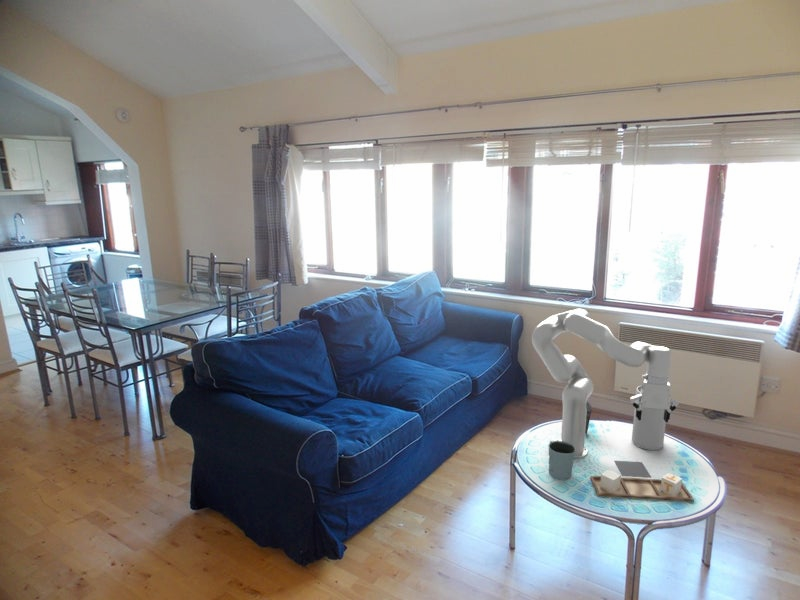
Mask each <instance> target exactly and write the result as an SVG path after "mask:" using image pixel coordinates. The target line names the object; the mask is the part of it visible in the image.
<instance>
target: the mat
mask: <svg viewBox="0 0 800 600" xmlns="http://www.w3.org/2000/svg"><path fill="white" fill-rule="evenodd" d="M613 462H614V463H615V466H616V468H617V470H618V471H619V473H620V475H621V477H631V478H649V479H653V478H652V476H651V474H650V473H649V471H648V469H647V467H646V465H644V463H643V462H642V461H632V460H629V461H626V460H614V461H613Z"/></svg>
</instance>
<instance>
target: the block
mask: <svg viewBox="0 0 800 600" xmlns="http://www.w3.org/2000/svg"><path fill="white" fill-rule="evenodd" d="M600 476H601V483H600V487H601V488H603V489H605V490H607V491H609V492H611V493H614V492H615V491H617V490H618V489H619V488H620V479H621V477H622V475H621V474H619V473H617V472H615V471H612V470H611V469H606V471H604V472H603V473H601V474H600Z"/></svg>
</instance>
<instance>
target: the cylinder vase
mask: <svg viewBox="0 0 800 600" xmlns="http://www.w3.org/2000/svg"><path fill="white" fill-rule="evenodd" d="M641 387H642V384H641V385H638V386H637V387H636V392H635V396H636V395H639V394H640V392H641ZM639 402H640V401H639V399H638V400H636V401H635V403H636V404H638V403H639ZM664 410H666V409H653V408H645V407H644V408H642V409H641V411H642V415H641V420H638V418H637V417H636V408H635V407H634V412H633V413H634V414H633V422H632V433H631V434H632V435H631V442H632V443H633V444H634V445H635V446H637V447H639V448H641V449H643V450H644V449H645V450H648V451H657V450H660V449H662V448H663V447H664V442H665V441H664V440H665V433H666V423H667V422H665V420H664Z"/></svg>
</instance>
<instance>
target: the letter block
mask: <svg viewBox="0 0 800 600" xmlns="http://www.w3.org/2000/svg"><path fill="white" fill-rule="evenodd" d="M661 480H662V481H661V490H660V491H662V492H665V493H667V494H669V495H671V496H673V497H675V496H676V495H677V494H678V493H680V492H681V484H682V483H683V478H681V477H679V476H677V475H675V474H672V473H670V472H667V473H666V474H665V475H663V476H662V477H661Z"/></svg>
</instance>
